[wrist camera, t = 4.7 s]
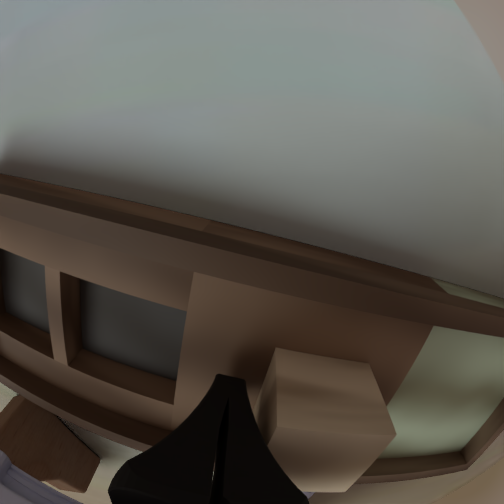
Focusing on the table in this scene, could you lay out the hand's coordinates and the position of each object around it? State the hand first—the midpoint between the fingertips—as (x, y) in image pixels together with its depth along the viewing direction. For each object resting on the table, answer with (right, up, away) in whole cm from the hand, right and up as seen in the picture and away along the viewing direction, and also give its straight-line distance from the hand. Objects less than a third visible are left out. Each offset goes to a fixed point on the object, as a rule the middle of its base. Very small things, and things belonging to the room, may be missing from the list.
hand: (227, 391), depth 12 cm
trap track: (+2, +1, +3) cm, 3 cm away
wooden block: (-16, -10, +7) cm, 20 cm away
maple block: (+4, -1, +1) cm, 4 cm away
